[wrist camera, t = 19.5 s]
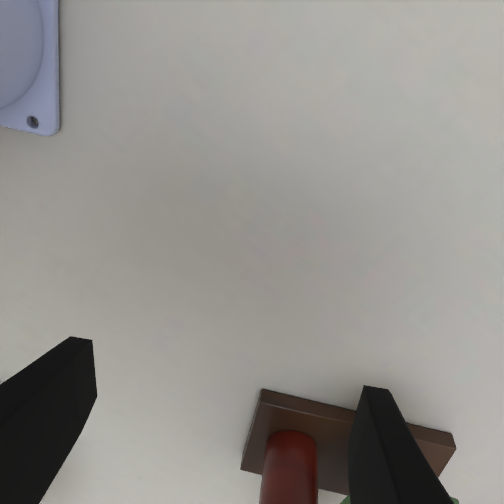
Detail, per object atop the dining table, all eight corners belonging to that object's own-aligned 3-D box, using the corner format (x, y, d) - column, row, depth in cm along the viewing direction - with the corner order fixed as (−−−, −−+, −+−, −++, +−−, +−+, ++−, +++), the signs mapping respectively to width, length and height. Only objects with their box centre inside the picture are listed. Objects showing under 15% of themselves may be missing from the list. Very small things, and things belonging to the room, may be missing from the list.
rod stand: (242, 456, 29) (225, 556, 24) (261, 388, 26) (247, 486, 21) (413, 497, 29) (435, 606, 24) (452, 433, 26) (486, 543, 21)
